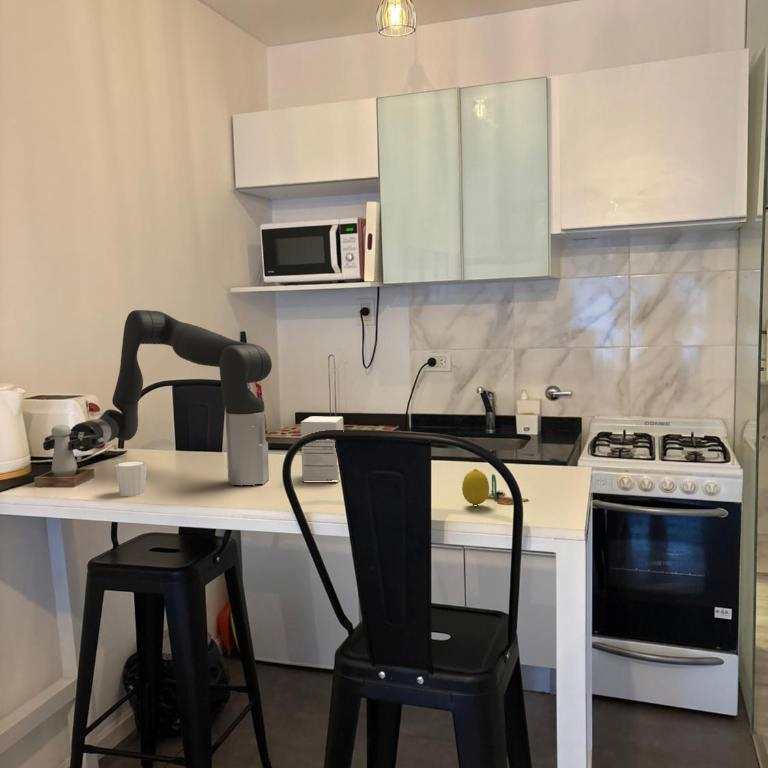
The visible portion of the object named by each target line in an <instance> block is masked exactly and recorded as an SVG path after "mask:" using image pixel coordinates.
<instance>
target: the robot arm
mask: <svg viewBox="0 0 768 768" xmlns="http://www.w3.org/2000/svg"><path fill="white" fill-rule="evenodd" d="M141 345H165V346H169V347H172V350H173V351H174V353H175V354H176V355H177V356H178V357H180V358H181V359H183V360H185V361H188V362H190V363H193V364H196V365H199V366H207V367H208V366H209V367H217V368H219V376H220V377H219V378H220V385H221V386H220V387H221V388H220V390H221V398H222V401H223V405H224V407H225V408H224V410H225V411H224V413H225V435H226V458H227V459H226V464H227V483H229V484H228V485H230V484H231V485H230V486H234V485H241V486H240V487H243V486H242V485H253V486H256V485H255V484H263V485H264V484H266V482H268V481H269V480H270V469H269V466H270V465H269V464H270V463H269V443H268V440H266V423H265V422H266V420H265V418H266V417H265V415H266V414H265V401H264V400H263V398H260V397H258V396H254V395H253V394H252V393H250V391H249V387H248V384H252V383H253V384H254V383H258V382H261V381H263V380H265V379H266V378H267V377H268V376H269V375H270V373H271V371H272V367H273V363H272V359H271V356H270V354H269V352H268V351H267V350H266V349H265V348H264V347H262V346H260V345H259V344H254V343H249V342H243V341H238V340H234V339H231V338H229V337H227V336H224V335H222V334H220V333H217V332H214V331H211V330H209V329H206V328H204V327H200V326H199V325H194V324H191V323H187V322H183V321H180V320H178V319H176V318H175V317H173V316H171V315H168V314H167V313H165V312H162V311H159V310H147V309H145V310H143V309H135V310H132V311H130V312H129V313H128V315H127V317H126V320H125V322H124V328H123V335H122V344H121V353H120V354H121V355H120V365H119V373H118V378H117V382H116V385H115V389H114V390H113V391H114V392H113V396H112V399H111V401H112V405H113V406H114V407H115V408H116V409H117V410H115V409H107V410H105V411H104V412H103V413H102V414H101V416H100V417H98V418H95V419H88V420H87V421H86V420H85V421H82V422H79V423H77V424H75V425H73V427H72V428H70V429H71V434H69V439H70V441H69V442H68V449H69V450H73V451H75V450H77V451H80V452H89V451H91V450H94V449H97V448H99V447H101V446H103V445H104V444H107V443H109V442H111V441H114V440H115V439H119V440H121V441H125V442H126V441H131V440H132V439H133V438H134V437H135V436H136V434H137V431H138V427H139V414H138V413H139V407H138V406H139V402H140V399H141V394H142V391H143V388H144V377H143V374H142V371H141V368H140V365H139V362H138V352H139V348H140V346H141ZM42 445H43V446H42V449H43V450H44V451H51V450H52V449H53V450H54V445H55V437H54V436H52V434H50V435H48V436H46V437H44V442H43V443H42Z"/></svg>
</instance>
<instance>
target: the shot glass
mask: <svg viewBox="0 0 768 768" xmlns="http://www.w3.org/2000/svg"><path fill="white" fill-rule="evenodd" d="M114 467H115V473H116V480H117V487H118V493H119V496H120V495H121V496H120V497H126V496H128V497H137V495H138V496H141V495H140V494H142V495H144V494H146V485H147V484H146V481H147V462H146V461H145V460H144V461H141V460H131V461H122V462H119V463H116V464H115V465H114ZM143 493H144V494H143Z"/></svg>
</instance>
